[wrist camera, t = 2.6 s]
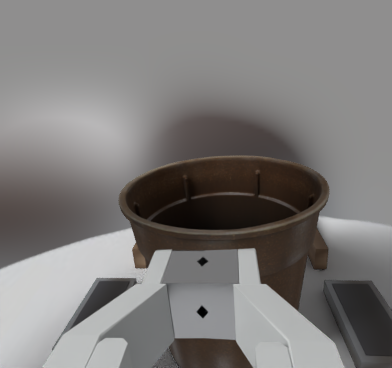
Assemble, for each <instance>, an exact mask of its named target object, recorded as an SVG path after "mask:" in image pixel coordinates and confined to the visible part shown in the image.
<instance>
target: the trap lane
mask: <svg viewBox="0 0 392 368" xmlns="http://www.w3.org/2000/svg"><path fill="white" fill-rule="evenodd" d="M132 251H133V257H134V263H135V268H146V267H147V264H146V260H145V258H144V256H143V255H142V254H141V252H140V251H139V249H138V246H137V243H135V245H134V247H133V249H132ZM308 256H309V258H310V261H311V263H312V265H313V268H314V269H326V268H327V258H328V247H327V245H326V244H325V242H324V240H323V238H322V236H321V235H320V233H319V231H318V229H317V228H316V233H315V239H314V242H313V244H312V247H311V248H310V250H309V251H308ZM136 284H137V282H136V278H97V279H96V280H95V282H94V283H93V285H92V287H91V288H90V290H89V291H88V293H87V295H86V296H85V298H84V299H83V301H82V302H81V304H80V306H79V307H78V309H77V310H76V312H75V314H74V315H73V317H72V318H71V320H70V321H69V323H68V325H67V326H66V328H65V329H64V331H63V333H62V334H61V336H60V337H59V339H58V340H57V342H56V344H55V345H54V347H53V348H52V350H53V349H54V348H55V346H56V345H57V343H58V342H59V340H60V338H61V337H62V335H63V334H65V333H66V332H68V331H69V330H71V329H72V328H73V327H75V326H76V325H78V324H79V323H81V322H82V321H84V320H85V319H86V318H88V317H89V316H91V315H92V314H94V313H95V312H97V311H98V310H99V309H101V308H102V307H104V306H105V305H107V304H108V303H110V302H111V301H112V300H114V299H115V298H117V297H118V296H120V295H121V294H123V293H124V292H125V291H127V290H128V289H130V288H131V287H133V286H134V285H136ZM323 291H324V294H325V296H326V298H327V301H328V303H329V305H330V308H331V310H332V312H333V315H334V317H335V319H336V322H337V324H338V326H339V329H340V331H341V333H342V336H343V338H344V340H345V343H346V345H347V348H348V350H349V352H350V355H351V357H352V359H353V362H354V364H355V366H356V368H392V310H391V309H390V307H389V306H388V304H387V303H386V301H385V300H384V298H383V297H382V295H381V294H380V292H379V291H378V289H377V288H376V287H375V285H374V284H373V282H372V281H340V280H324V290H323Z"/></svg>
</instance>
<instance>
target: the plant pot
mask: <svg viewBox="0 0 392 368" xmlns="http://www.w3.org/2000/svg"><path fill="white" fill-rule="evenodd" d="M328 197H329V186H328V183H327V181H326V180H325V178H323V176H321V175H320V174H319V173H317V172H316V171H314V170H313V169H311V168H309V167H306V166H303V165H301V164H297V163H294V162H290V161H285V160H279V159H275V158H269V157H259V156H217V157H206V158H198V159H192V160H186V161H181V162H175V163H172V164H168V165H165V166H161V167H159V168H156V169H153V170H151V171H148V172H146V173H144V174H142V175H140V176H138V177H136V178H135V179H133V180H132V181H131V182H129V183H128V184H127V185H126V186H125V187H124V188H123V189H122V191H121V193H120V195H119V205H120V208H121V211H122V213H123V214H124V216H125V217H126V218H127V219H128V220H129V221H130V223H131V227H132V230H133V233H134V236H135V240H136V243H137V246H138V249H139V251H140V252H141V254H142V255H143V256H144V258H145V260H146V264H147V268H148V267H149V264H150V262H151V259H152V257H153V255H154V252H155V251H156V250H171V249H172V250H231V249H237V251H238V249H250V248H255V250H256V255H257V261H258V268H259V274H260V281H261V284H267V285H268V286H269V287H270V288H271V289H272V290H274V291H275V292H276V293H277V294H278V295H279V296H281V297H282V298H283V299H284V300H285V301H287V302H288V303H289V304H290V305H291V306H292V307H294V308H295V309H296V310H297V311H298V307H299V301H300V295H301V290H302V284H303V278H304V272H305V266H306V260H307V255H308V251H309V250H310V248H311V247H312V244H313V242H314V239H315V233H316V228H317V222H318V217H319V212H320V211H321V210H322V209H323V208H324V206H325V205H326V203H327V201H328ZM169 348H170V351H171V354H172V356H173V357H174V359H175V361H176V362H177V364H178V365H179V366H180V368H253V367H252V365H251V364H250V362H249V361H248V359H247V357H246V356H245V354H244V353H243V351H242V350H241V348H240V347H239V345H238V344H237V342H236V340H229V339H211V338H174V341H173V342H172V344H171V345H170V346H169Z"/></svg>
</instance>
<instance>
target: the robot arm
mask: <svg viewBox="0 0 392 368" xmlns="http://www.w3.org/2000/svg"><path fill="white" fill-rule="evenodd" d="M174 338H211V339H229V340H236V342H237V344H238V345H239V347H240V348H241V350H242V351H243V353H244V354H245V356H246V357H247V359H248V361H249V362H250V364H251V365H252V367H253V368H344V365H343V363H342V360H341V358H340V355H339V353H338V350H337V347H336V345H335V343H334V342H333V341H332V340H331V339H330V338H329V337H327V336H326V335H325V334H324V333H323V332H322V331H320V330H319V329H318V328H317V327H316V326H315V325H313V324H312V323H311V322H310V321H309V320H308V319H306V318H305V317H304V316H303V315H302V314H301V313H299V312H298V311H297V310H296V309H295V308H294V307H292V306H291V305H290V304H289V303H288V302H287V301H285V300H284V299H283V298H282V297H281V296H279V295H278V294H277V293H276V292H275V291H274V290H272V289H271V288H270V287H269V286H268V285H267V284H261V281H260V274H259V268H258V261H257V255H256V250H255V248H250V249H238V251H237V249H231V250H172V249H171V250H156V251H155V252H154V255H153V257H152V259H151V262H150V264H149V267H148V269H147V271H146V274H145V276H144V279H143V281H142V283H141V284H136V285H134V286H133V287H131V288H130V289H128V290H127V291H125V292H124V293H123V294H121V295H120V296H118V297H117V298H115V299H114V300H112V301H111V302H110V303H108V304H107V305H105V306H104V307H102V308H101V309H99V310H98V311H97V312H95V313H94V314H92V315H91V316H89V317H88V318H86V319H85V320H84V321H82V322H81V323H79V324H78V325H76V326H75V327H73V328H72V329H71V330H69V331H68V332H66V333H65V334H63V335H62V337H61V338H60V340H59V342H58V343H57V345H56V346H55V348H54V349H53V351H52V353H51V354H50V356H49V357H48V359H47V360H46V362H45V364H44V365H43V367H42V368H152V367H153V366H154V364H155V363H156V362H157V361H158V360H159V358H160V357H161V356H162V355H163V353H164V352H165V351H166V350H167V349H168V347H169V346H170V345H171V344H172V342H173V341H174Z"/></svg>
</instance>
